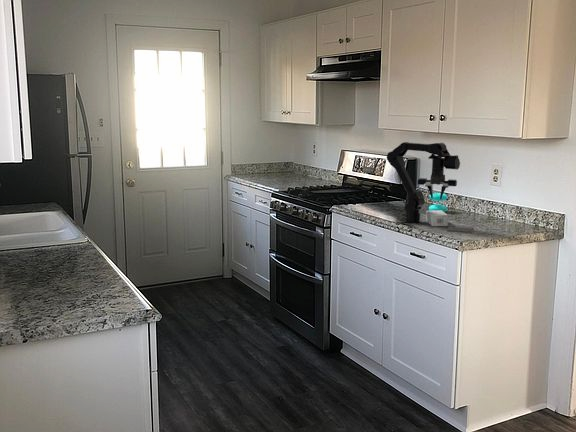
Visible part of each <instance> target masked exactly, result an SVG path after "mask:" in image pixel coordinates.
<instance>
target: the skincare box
mask: <svg viewBox="0 0 576 432" xmlns="http://www.w3.org/2000/svg"><path fill="white" fill-rule="evenodd" d="M425 216H426V218H425V219H426V220H425V221H426V223H428V224H429V225H430V226H431V227H449V225H448V224H449V222H448V220H449V214H448V213H446V212H443V211H442V210H429V209H428V210H426V215H425Z"/></svg>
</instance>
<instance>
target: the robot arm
mask: <svg viewBox="0 0 576 432" xmlns="http://www.w3.org/2000/svg"><path fill="white" fill-rule="evenodd" d="M408 151H414V152H415V151H417V152H426V153H428V154H431V155H429V156H428V160H430V159H431V160H432V162H431V175H430V179H428V178H427V177H426V178H425V177H419V178H418V179H417V185H419V186H421V185H425V187H426V188H427V189H428V192H429V196H430V195H431V199H430V200H432V199H433V193H434V188H433V187H434V185H439V186H440V185H441V190H440V193H441V195H440V200H441V198H442V196H443V194H445V191H446V189H447V188H449V187H457V185H458V180H457V179H452V178H450V179H448V180H446V175H445V173H444V171H445V170H459V168H460V166H461V161H460V158H459V155H457V154H456V155H451V154H450V152H449V150H448V149H447V145H446V143H444V142H435V143H419V142H409V141H404V142H403V141H402V142H401V143H400V144H399V145H398V146H397V147H395V148H393V150H391V151H389V152H387V154H386V160H387V162H388V164H390V166H392V168H393V169H395V171H396V173H397V175H398V177H399V179H400V182H401V183H402V185H403V187H404V189H405V192H406V194H407V201H408V202H407V203H406V204H405V205H404V206H403V207H404V210H405V211H406V212H405V213H406V214H405V220H404V221H405V223H416V224H418V223H419V222H420V221H421V212H420V210H421V209H422V207H424V205H425V203H426V200H425V198H426V197H425V196H424V195H423V191H421V190H420V191H419V190H418V189H416V187H415V184H414V183H413V180H412V179H411V177H410V175H409V173H408V171H407V169H406V167H405V161H404V160H405V159H404V156H405V155H406V154H407V152H408Z"/></svg>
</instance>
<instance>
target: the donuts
mask: <svg viewBox="0 0 576 432" xmlns="http://www.w3.org/2000/svg"><path fill="white" fill-rule="evenodd" d="M440 195H441V192H440V193H439V192H436V193H434V192H433V199H431V195H430V194H429V199H430V200H432V201H433V202H434V201H435V202H443V201H446V200H447V199H448V197H449V196H448V195H447V194H446V193H443V196H442V198H441V200H440ZM428 210H442V211H443V212H445V213H446V212H447V210H448V208H447V206H446V205H443V204H432V205H429V207H428Z"/></svg>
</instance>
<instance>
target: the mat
mask: <svg viewBox="0 0 576 432" xmlns="http://www.w3.org/2000/svg"><path fill="white" fill-rule="evenodd" d="M473 228H474V226H472V225H461V224H460V225H459V224H449V225H448V228H447V229H446V232H458V233H469V234H470V233H472V231H473Z"/></svg>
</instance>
